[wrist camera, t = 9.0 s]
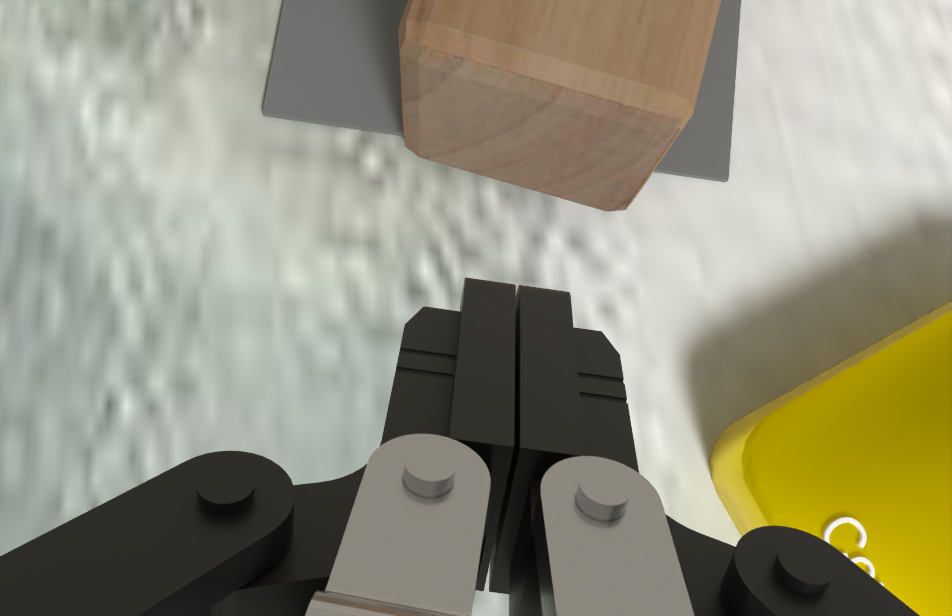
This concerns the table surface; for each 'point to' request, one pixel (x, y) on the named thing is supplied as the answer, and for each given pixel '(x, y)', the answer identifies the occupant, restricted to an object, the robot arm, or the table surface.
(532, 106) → the wooden block
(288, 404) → the table surface
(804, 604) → the robot arm
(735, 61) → the mat
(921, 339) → the yellow labelled tile
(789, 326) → the table surface
